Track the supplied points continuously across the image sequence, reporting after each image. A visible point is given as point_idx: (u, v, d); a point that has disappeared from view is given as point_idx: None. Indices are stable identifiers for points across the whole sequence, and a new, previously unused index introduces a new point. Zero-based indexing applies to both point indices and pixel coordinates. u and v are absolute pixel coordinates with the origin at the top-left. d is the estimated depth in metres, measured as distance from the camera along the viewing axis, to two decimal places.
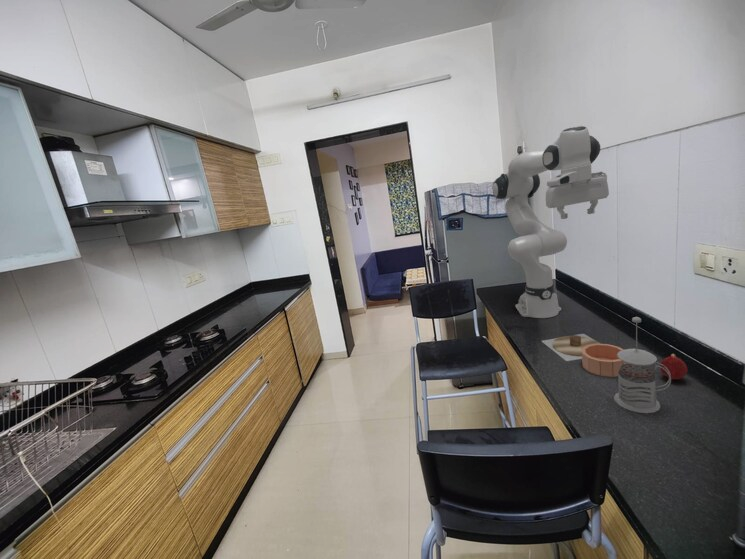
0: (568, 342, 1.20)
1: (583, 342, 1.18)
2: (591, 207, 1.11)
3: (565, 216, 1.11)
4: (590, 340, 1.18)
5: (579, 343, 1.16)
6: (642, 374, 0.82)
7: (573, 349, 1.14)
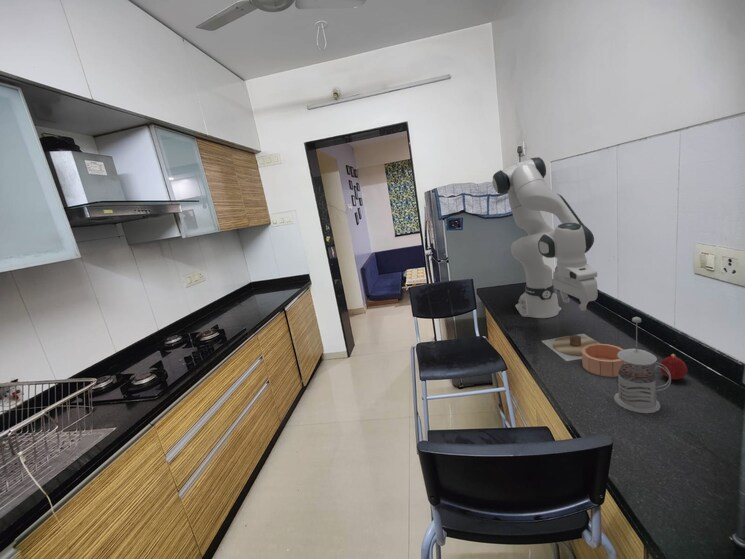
0: (568, 342, 1.20)
1: (583, 342, 1.18)
2: (565, 296, 1.18)
3: None
4: (590, 340, 1.18)
5: (579, 343, 1.16)
6: (642, 374, 0.82)
7: (573, 349, 1.14)
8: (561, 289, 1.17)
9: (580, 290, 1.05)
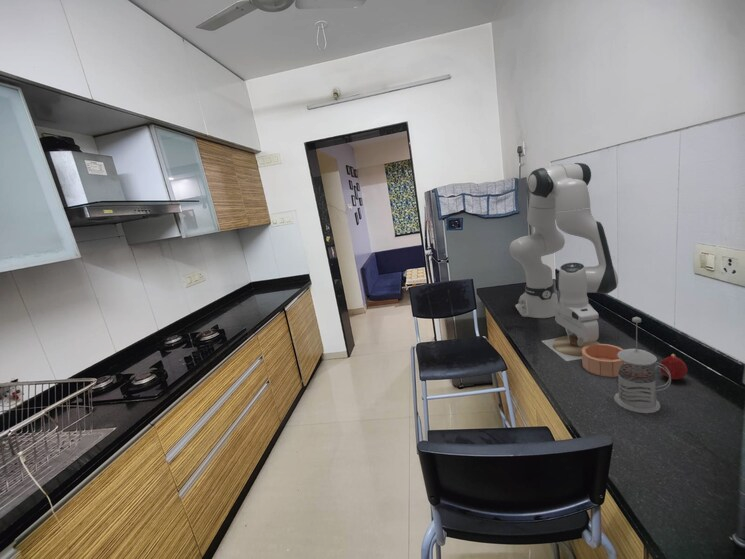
0: (568, 342, 1.20)
1: (583, 342, 1.18)
2: (570, 334, 1.19)
3: None
4: None
5: None
6: (642, 374, 0.82)
7: (573, 349, 1.14)
8: (563, 325, 1.20)
9: (582, 330, 1.09)
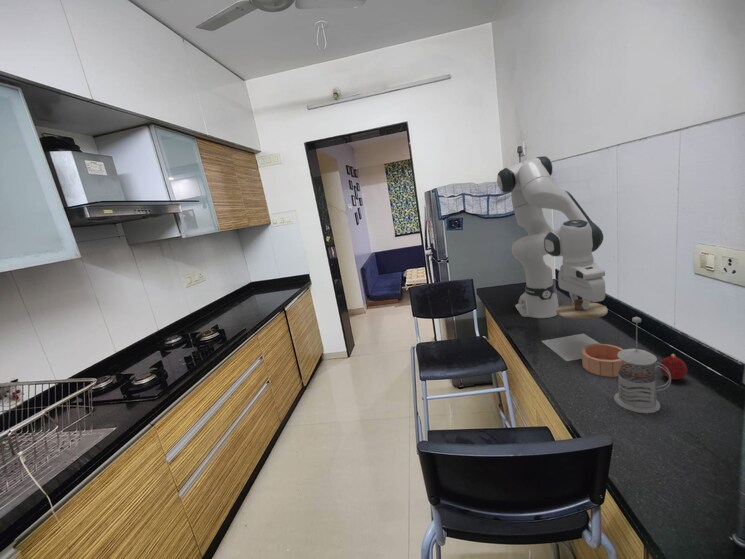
0: (573, 307, 1.12)
1: (589, 306, 1.10)
2: (575, 298, 1.12)
3: None
4: (596, 304, 1.10)
5: None
6: (642, 374, 0.82)
7: (578, 313, 1.07)
8: (567, 289, 1.12)
9: (587, 290, 1.01)
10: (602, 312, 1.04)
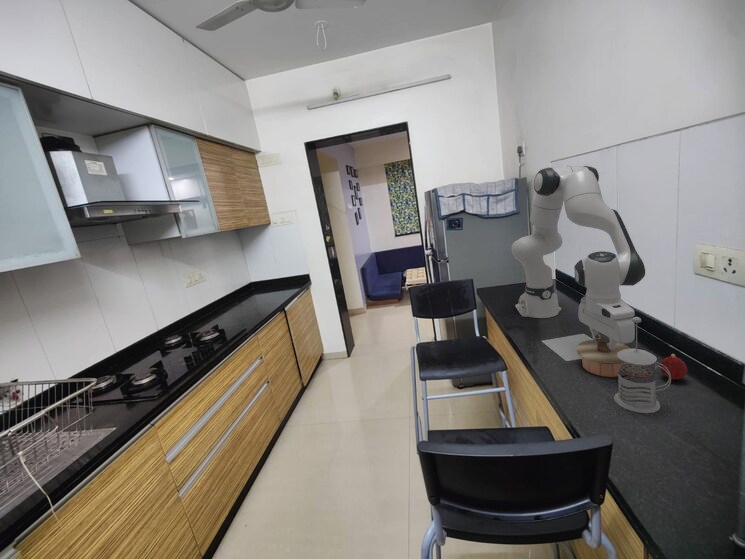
0: (595, 347, 1.04)
1: None
2: (595, 333, 1.04)
3: None
4: (620, 345, 1.03)
5: None
6: (642, 374, 0.83)
7: (602, 356, 0.99)
8: (589, 324, 1.04)
9: (614, 330, 0.93)
10: None
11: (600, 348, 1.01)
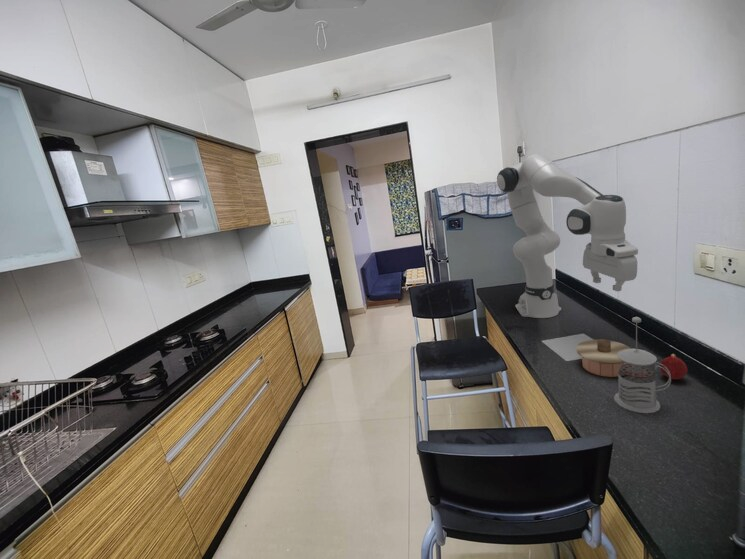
0: (595, 347, 1.04)
1: (613, 347, 1.02)
2: (596, 276, 1.10)
3: None
4: (620, 345, 1.03)
5: (609, 348, 1.00)
6: (642, 374, 0.82)
7: (602, 356, 0.99)
8: (593, 268, 1.08)
9: (617, 269, 0.97)
10: None
11: (600, 348, 1.01)
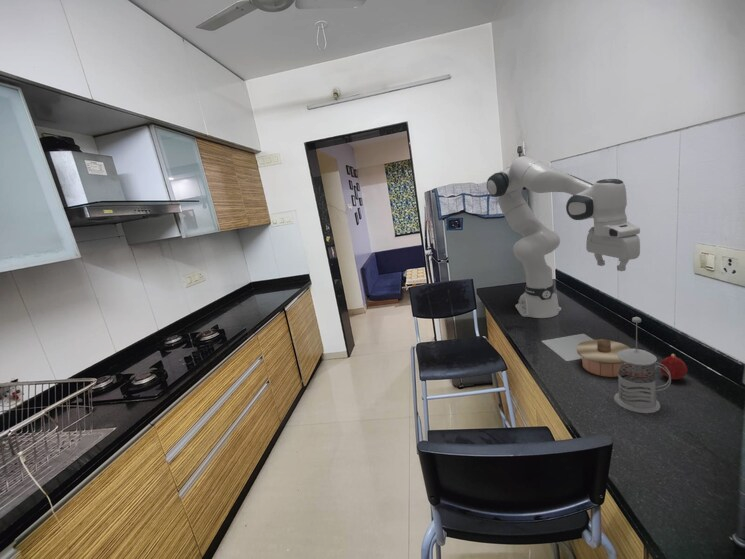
0: (595, 347, 1.04)
1: (613, 347, 1.02)
2: (600, 259, 1.13)
3: None
4: (620, 345, 1.03)
5: (609, 348, 1.00)
6: (642, 374, 0.82)
7: (602, 356, 0.99)
8: (596, 251, 1.12)
9: (620, 248, 1.00)
10: None
11: (600, 348, 1.01)
